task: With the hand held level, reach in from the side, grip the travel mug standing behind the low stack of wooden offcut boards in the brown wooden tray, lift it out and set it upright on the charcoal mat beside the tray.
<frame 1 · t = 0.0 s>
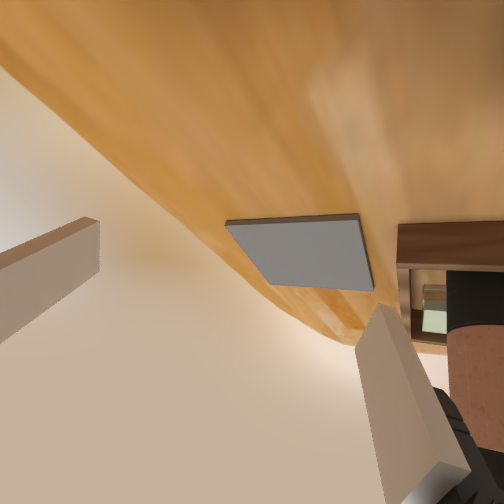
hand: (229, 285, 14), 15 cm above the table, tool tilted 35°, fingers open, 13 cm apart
travel mug: (488, 256, 30), on the table
charcoal mat: (304, 255, 40), on the table
top offcut: (474, 315, 37), point 2 cm above the table
brown wooden tray: (480, 280, 34), on the table
middle offcut: (473, 305, 37), point 1 cm above the table, touching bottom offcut
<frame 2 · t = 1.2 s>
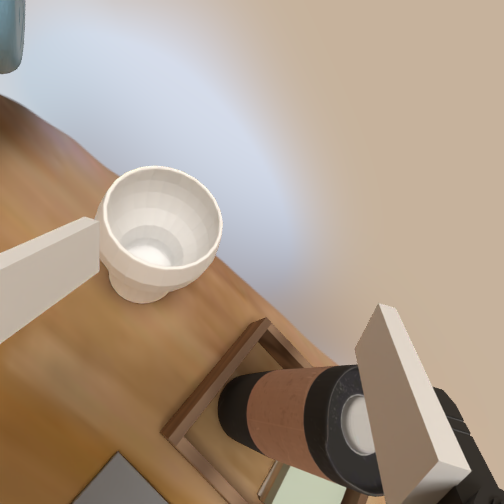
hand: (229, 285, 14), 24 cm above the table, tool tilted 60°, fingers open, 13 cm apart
travel mug: (244, 407, 36), on the table
cup: (143, 273, 36), on the table
top offcut: (311, 474, 34), point 2 cm above the table, touching middle offcut
brown wooden tray: (273, 436, 36), on the table
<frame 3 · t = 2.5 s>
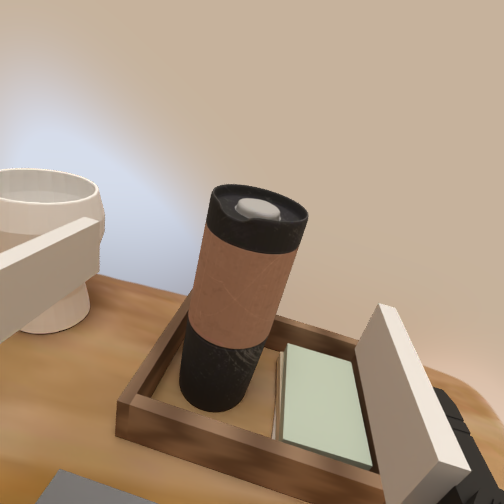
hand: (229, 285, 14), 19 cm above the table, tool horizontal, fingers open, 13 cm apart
travel mug: (213, 381, 31), on the table
cup: (51, 311, 34), on the table
top offcut: (317, 402, 29), point 2 cm above the table, touching middle offcut
brown wooden tray: (259, 395, 31), on the table
middle offcut: (311, 409, 30), resting on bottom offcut, touching top offcut
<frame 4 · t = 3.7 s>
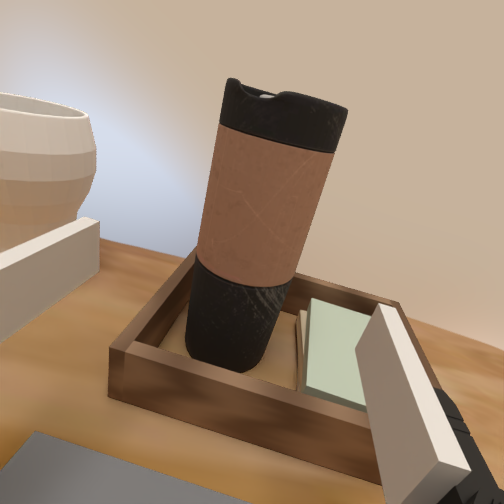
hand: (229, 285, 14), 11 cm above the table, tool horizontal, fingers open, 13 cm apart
travel mug: (224, 343, 26), on the table
cup: (36, 268, 30), on the table
top offcut: (347, 359, 25), point 2 cm above the table, touching middle offcut
brown wooden tray: (278, 357, 26), on the table
middle offcut: (340, 370, 26), point 1 cm above the table, touching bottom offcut, top offcut
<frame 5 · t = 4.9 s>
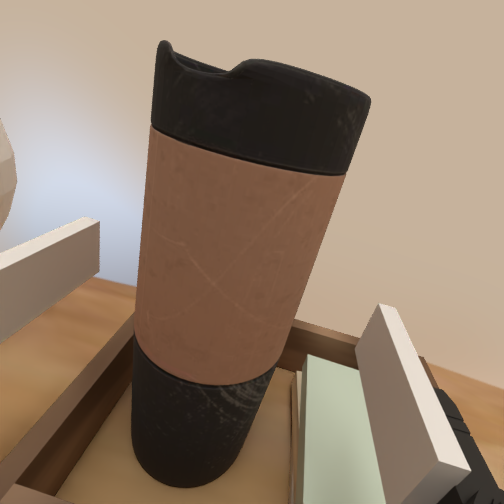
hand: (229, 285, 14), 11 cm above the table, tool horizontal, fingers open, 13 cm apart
travel mug: (189, 426, 19), on the table
top offcut: (358, 454, 18), point 2 cm above the table, touching middle offcut
brown wooden tray: (264, 448, 19), on the table
middle offcut: (351, 470, 18), point 1 cm above the table, touching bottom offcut, top offcut
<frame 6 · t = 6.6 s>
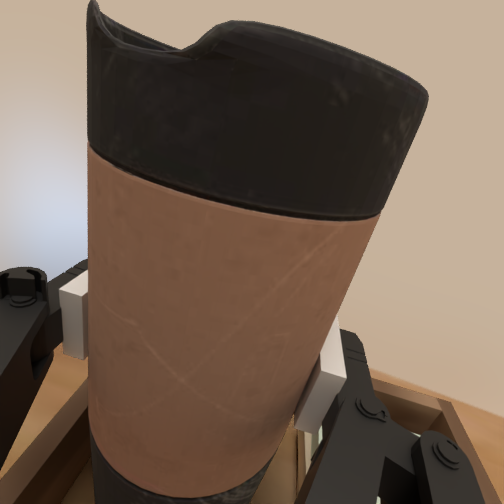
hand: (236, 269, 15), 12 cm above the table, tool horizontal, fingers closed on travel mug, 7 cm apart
travel mug: (172, 496, 16), on the table, touching gripper
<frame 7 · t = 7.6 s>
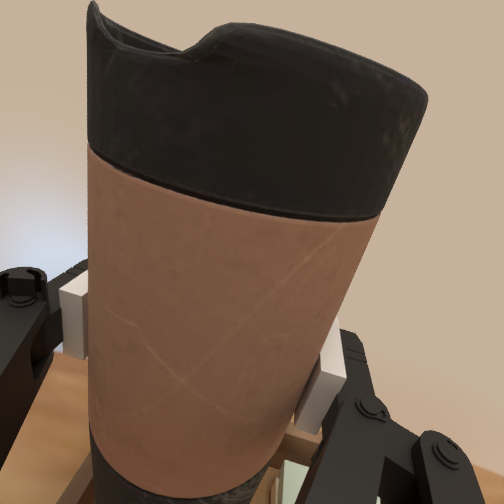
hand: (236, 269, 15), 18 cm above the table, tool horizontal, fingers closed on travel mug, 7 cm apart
travel mug: (172, 497, 16), point 7 cm above the table, touching gripper
when the fingers open (14 cm above the table, at t = 11.7 s): travel mug drops 1 cm, resting on charcoal mat.
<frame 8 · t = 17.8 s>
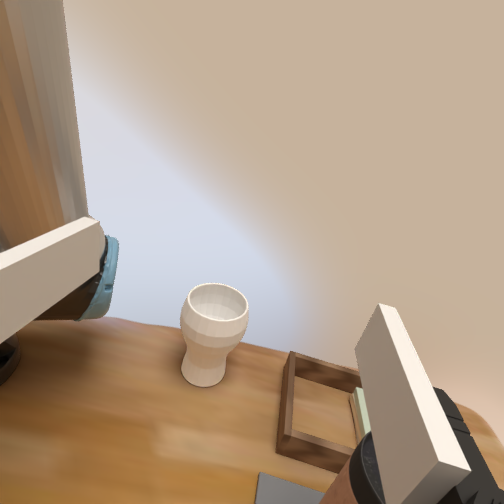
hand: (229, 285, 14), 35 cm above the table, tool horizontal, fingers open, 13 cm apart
cup: (203, 369, 52), on the table
top offcut: (381, 427, 48), point 2 cm above the table
brown wooden tray: (344, 424, 49), on the table
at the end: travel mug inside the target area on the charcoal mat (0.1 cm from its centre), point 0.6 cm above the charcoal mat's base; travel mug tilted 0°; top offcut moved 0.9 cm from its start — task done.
